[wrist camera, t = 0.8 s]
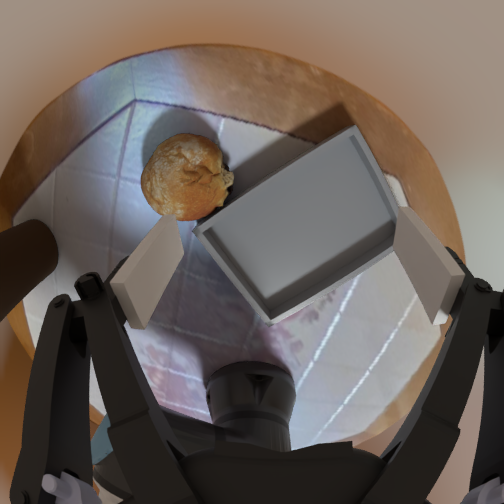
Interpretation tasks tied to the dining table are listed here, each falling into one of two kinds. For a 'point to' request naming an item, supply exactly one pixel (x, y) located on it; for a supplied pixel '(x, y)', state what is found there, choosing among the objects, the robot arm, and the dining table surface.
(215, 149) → the bread roll
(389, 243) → the tray
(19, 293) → the olive oil
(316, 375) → the dining table surface
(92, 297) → the robot arm
